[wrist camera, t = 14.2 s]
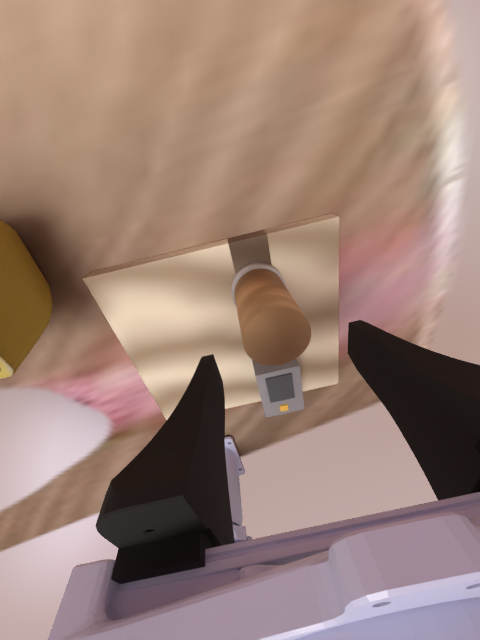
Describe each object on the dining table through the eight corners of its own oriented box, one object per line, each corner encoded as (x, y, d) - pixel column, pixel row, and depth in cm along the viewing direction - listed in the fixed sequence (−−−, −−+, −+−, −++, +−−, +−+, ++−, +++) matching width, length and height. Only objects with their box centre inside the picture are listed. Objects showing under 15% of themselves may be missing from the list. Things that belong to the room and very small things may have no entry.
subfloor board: (332, 374, 29) (338, 383, 27) (169, 410, 29) (167, 421, 28) (330, 213, 19) (339, 216, 18) (91, 272, 20) (82, 278, 19)
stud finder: (295, 386, 27) (304, 410, 24) (260, 394, 27) (265, 419, 24) (290, 345, 24) (300, 367, 21) (250, 354, 24) (255, 377, 21)
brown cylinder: (281, 257, 19) (315, 298, 13) (284, 305, 22) (314, 360, 15) (226, 267, 19) (233, 313, 13) (235, 314, 22) (245, 373, 15)
